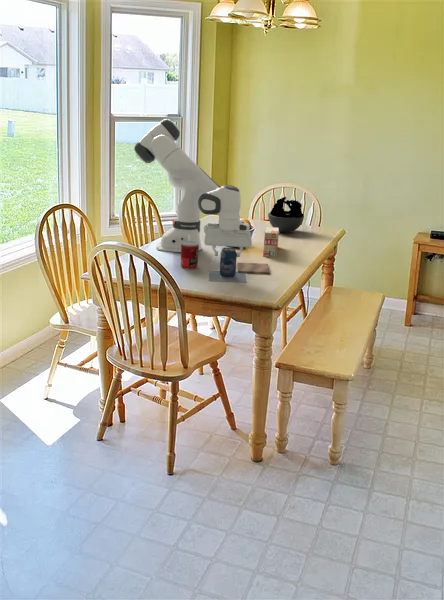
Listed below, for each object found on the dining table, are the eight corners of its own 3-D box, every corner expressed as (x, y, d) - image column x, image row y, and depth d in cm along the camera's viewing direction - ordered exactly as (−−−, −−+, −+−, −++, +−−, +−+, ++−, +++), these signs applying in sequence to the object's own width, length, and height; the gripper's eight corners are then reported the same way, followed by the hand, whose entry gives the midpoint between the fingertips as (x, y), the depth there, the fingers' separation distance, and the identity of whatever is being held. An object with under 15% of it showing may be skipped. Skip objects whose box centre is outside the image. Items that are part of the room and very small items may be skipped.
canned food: (191, 270, 302) (192, 246, 299) (177, 266, 306) (177, 243, 302) (201, 266, 308) (202, 242, 305) (186, 263, 312) (187, 240, 309)
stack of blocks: (265, 246, 350) (267, 222, 346) (277, 247, 350) (279, 223, 346) (263, 256, 330) (264, 232, 326) (275, 257, 330) (277, 232, 326)
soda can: (220, 278, 291) (222, 251, 288) (218, 273, 298) (219, 247, 294) (236, 278, 292) (238, 251, 289) (234, 273, 299) (235, 247, 295)
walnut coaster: (238, 273, 301) (238, 270, 301) (237, 264, 314) (237, 262, 314) (270, 274, 301) (270, 272, 301) (267, 265, 315) (267, 263, 314)
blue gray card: (208, 281, 287) (208, 280, 287) (209, 270, 303) (209, 270, 303) (246, 282, 288) (246, 282, 288) (245, 272, 303) (245, 271, 303)
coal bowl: (299, 237, 372) (302, 203, 366) (263, 233, 377) (265, 200, 371) (305, 230, 390) (308, 197, 384) (271, 226, 395) (273, 194, 389)
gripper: (204, 224, 284) (202, 256, 289) (253, 227, 285) (250, 259, 289) (204, 221, 290) (203, 253, 295) (252, 224, 291) (250, 255, 295)
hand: (227, 256), depth 292 cm, fingers open, 8 cm apart
